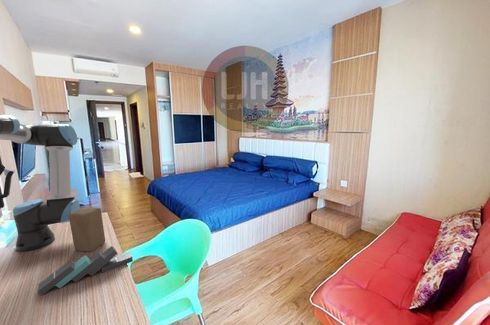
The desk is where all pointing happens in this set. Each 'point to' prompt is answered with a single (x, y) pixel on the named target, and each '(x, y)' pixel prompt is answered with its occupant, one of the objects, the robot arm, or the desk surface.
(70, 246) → the desk surface
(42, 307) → the desk surface
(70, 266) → the domino
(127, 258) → the domino
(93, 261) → the domino
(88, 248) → the block
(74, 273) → the domino
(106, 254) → the domino
